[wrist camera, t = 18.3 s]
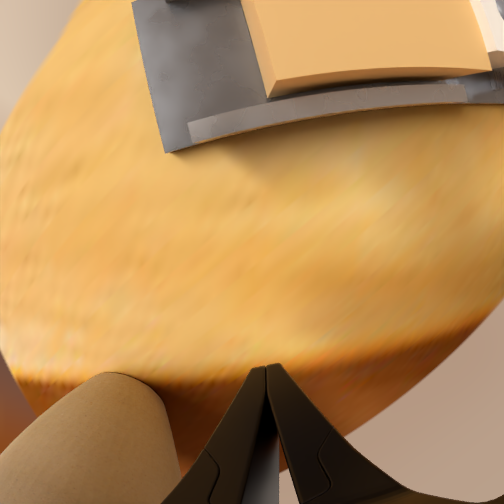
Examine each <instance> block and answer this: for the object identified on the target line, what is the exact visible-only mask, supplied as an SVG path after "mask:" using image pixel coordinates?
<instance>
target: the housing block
mask: <svg viewBox="0 0 504 504" xmlns="http://www.w3.org/2000/svg"><path fill="white" fill-rule="evenodd" d="M469 1H470V3H471V6H472V8H473V11H474V13H475V16H476V19H477V22H478V24H479V27H480V30H481V33H482V36H483V40H484V43H485V46H486V50H487V53H488V57H489V60H490V64H491V68H492V69H494V68H500V67H504V0H469Z"/></svg>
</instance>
